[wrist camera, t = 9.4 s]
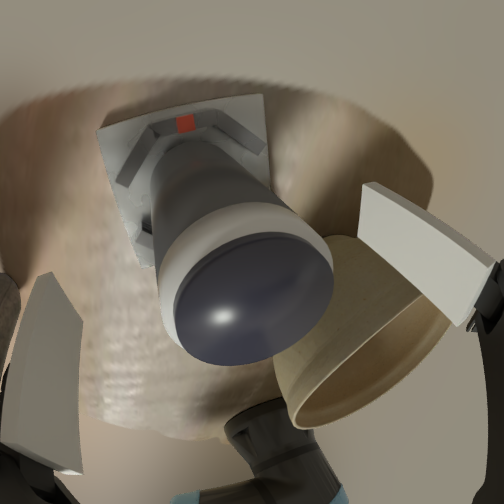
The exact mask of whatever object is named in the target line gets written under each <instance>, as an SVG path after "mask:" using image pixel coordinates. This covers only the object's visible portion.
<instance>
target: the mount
mask: <svg viewBox="0 0 504 504" xmlns="http://www.w3.org/2000/svg"><path fill="white" fill-rule="evenodd" d="M96 134H97V138H98V142H99V146H100V150H101V153H102V157H103V160H104V164H105V167H106V171H107V174H108V178H109V181H110V184H111V187H112V190H113V193H114V196H115V199H116V202H117V205H118V208H119V211H120V214H121V217H122V220H123V222H124V225H125V228H126V231H127V233H128V236H129V238H130V241H131V244H132V246H133V249H134V251H135V254H136V256H137V259H138V261H139V263H140V266H141V268H142V269H145V268H148V267H151V266H155V259H154V248H153V235H152V220H151V200H150V181H151V176H152V173H153V170H154V168H155V166H156V164H157V163H158V161H159V160H160V159H161V157H162V156H163V155H164V154H165V153H167V152H168V151H169V150H171V149H172V148H174V147H176V146H178V145H180V144H183V143H187V142H193V141H201V142H207V143H211V144H213V145H216V146H218V147H219V148H221V149H222V150H224V151H225V152H226V153H227V154H228V155H230V156H231V157H232V158H233V159H235V160H236V161H237V162H238V163H239V164H240V165H242V166H243V167H244V168H245V169H246V170H248V171H249V172H250V173H251V174H252V175H253V176H254V177H256V178H257V179H258V180H259V181H260V182H261V183H263V184H264V185H265V186H266V187H267V188H268V189H269V190H270V191H271V185H270V172H269V159H268V146H267V134H266V123H265V111H264V100H263V94H262V93H253V94H244V95H236V96H229V97H222V98H216V99H210V100H204V101H199V102H193V103H188V104H184V105H179V106H175V107H170V108H166V109H162V110H158V111H154V112H150V113H147V114H143V115H140V116H136V117H133V118H129V119H126V120H123V121H120V122H117V123H114V124H111V125H108V126H105V127H102V128H99V129H98V130H96Z"/></svg>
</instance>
